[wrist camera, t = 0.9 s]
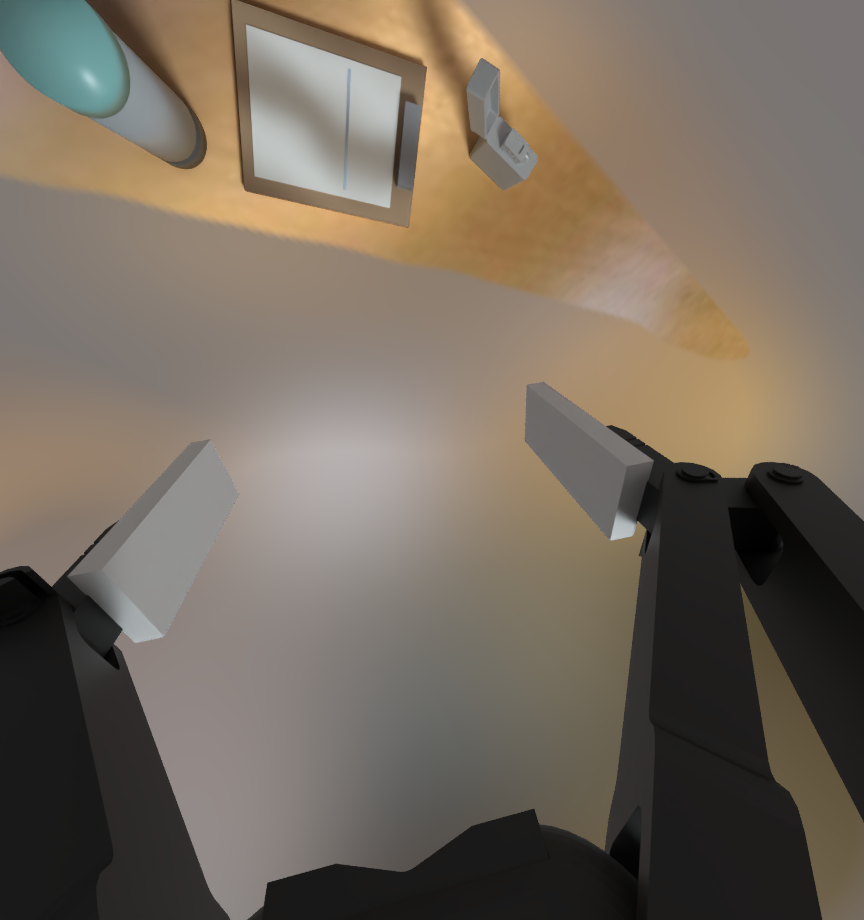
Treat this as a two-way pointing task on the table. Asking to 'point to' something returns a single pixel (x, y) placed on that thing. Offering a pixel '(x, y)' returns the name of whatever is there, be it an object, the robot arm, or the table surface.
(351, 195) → the clipboard
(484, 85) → the lighter
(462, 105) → the table surface
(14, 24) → the grey teal cylinder
